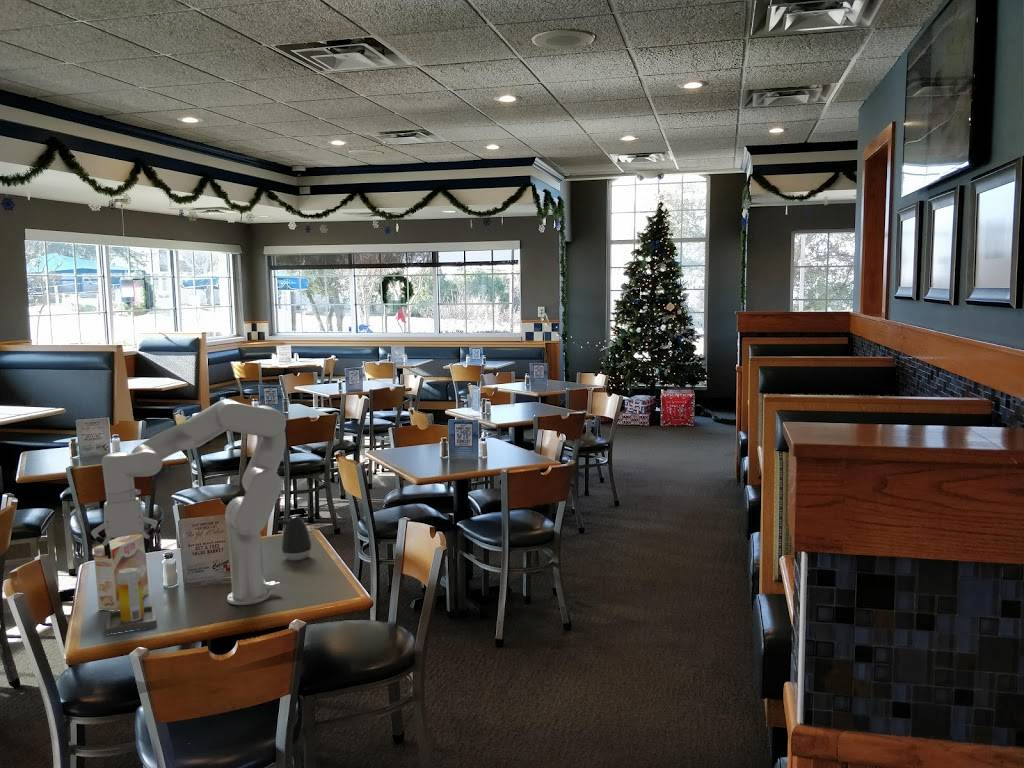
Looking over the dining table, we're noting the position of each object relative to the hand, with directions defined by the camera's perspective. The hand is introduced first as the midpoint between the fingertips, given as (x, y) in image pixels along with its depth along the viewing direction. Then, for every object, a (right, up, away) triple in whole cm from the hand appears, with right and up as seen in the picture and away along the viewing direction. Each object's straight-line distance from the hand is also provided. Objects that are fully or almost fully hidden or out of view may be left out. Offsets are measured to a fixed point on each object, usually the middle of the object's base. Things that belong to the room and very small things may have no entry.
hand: (128, 554), depth 243 cm
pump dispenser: (+34, -13, +55) cm, 66 cm away
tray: (0, -20, +2) cm, 20 cm away
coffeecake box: (-9, -19, +19) cm, 28 cm away
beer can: (0, -20, +2) cm, 20 cm away
